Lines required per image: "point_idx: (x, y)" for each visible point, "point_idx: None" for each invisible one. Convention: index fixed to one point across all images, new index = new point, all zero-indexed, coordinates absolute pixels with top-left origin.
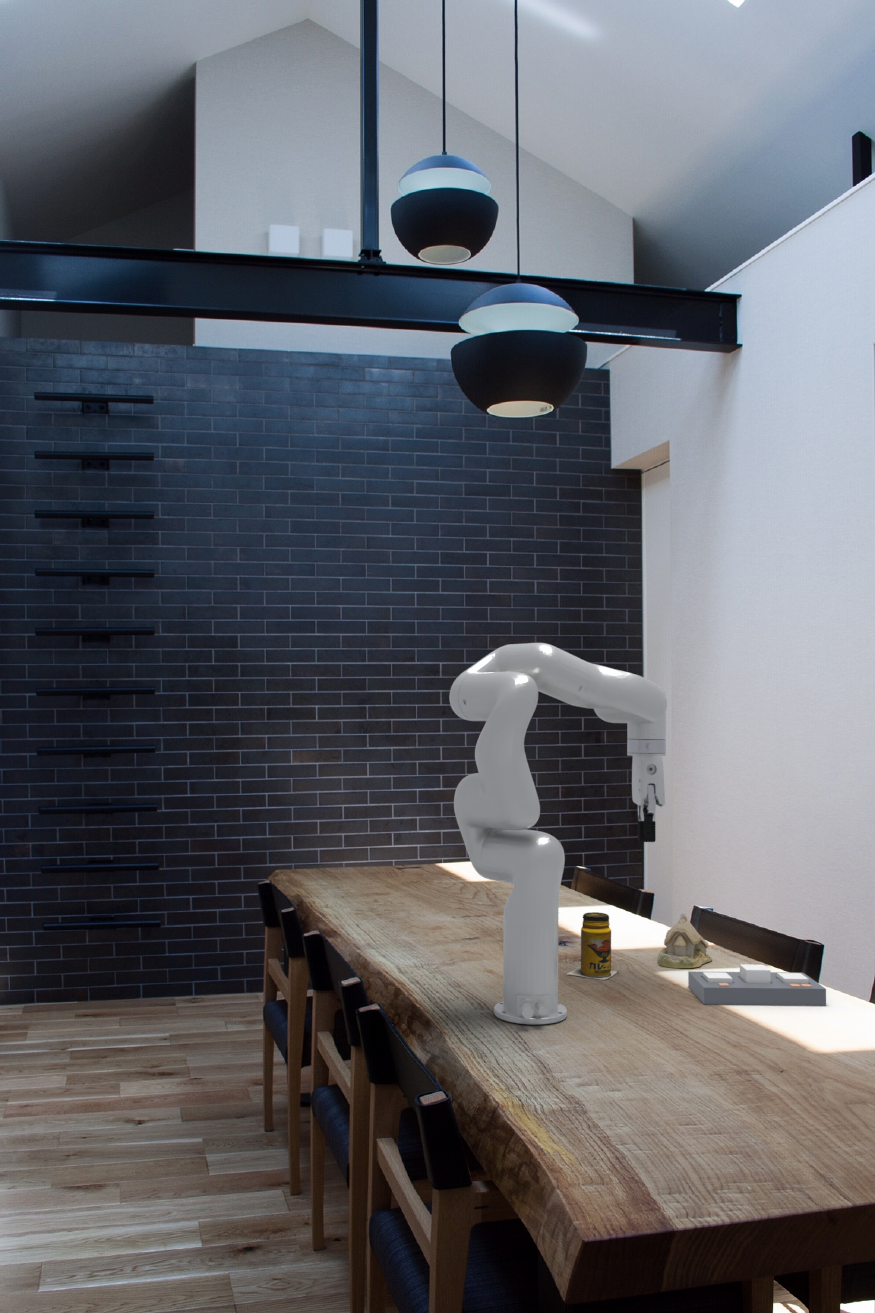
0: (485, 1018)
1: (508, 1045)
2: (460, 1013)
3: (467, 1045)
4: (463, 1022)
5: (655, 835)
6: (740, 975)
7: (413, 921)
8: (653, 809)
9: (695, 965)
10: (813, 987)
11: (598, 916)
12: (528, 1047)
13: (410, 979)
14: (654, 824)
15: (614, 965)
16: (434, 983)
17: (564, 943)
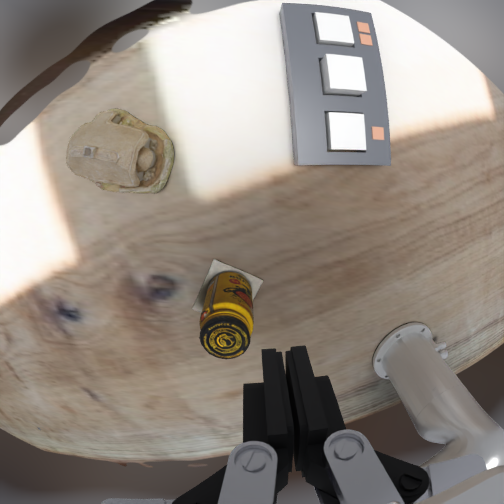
0: None
1: (458, 350)
2: (385, 394)
3: None
4: None
5: (309, 364)
6: (329, 92)
7: (57, 417)
8: (480, 471)
9: (166, 135)
10: (367, 22)
11: (239, 338)
12: (464, 338)
13: None
14: (323, 417)
15: (168, 260)
16: None
17: (69, 311)
